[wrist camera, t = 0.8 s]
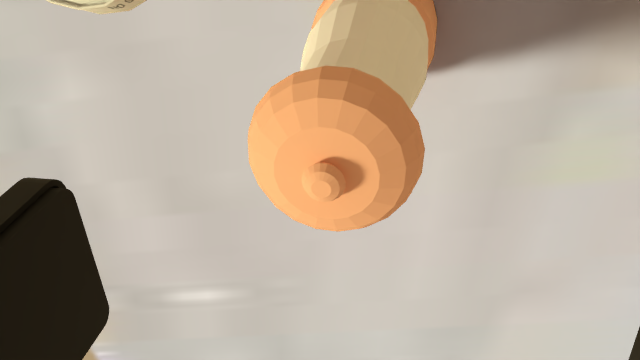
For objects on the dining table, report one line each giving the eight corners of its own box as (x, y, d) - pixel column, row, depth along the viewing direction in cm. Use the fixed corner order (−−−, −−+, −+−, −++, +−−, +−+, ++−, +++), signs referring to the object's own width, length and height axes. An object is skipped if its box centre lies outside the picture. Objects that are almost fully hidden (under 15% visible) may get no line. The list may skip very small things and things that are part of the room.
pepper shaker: (356, -60, 35) (274, 54, 19) (461, 4, 35) (467, 166, 19) (301, 42, 39) (195, 209, 23) (396, 98, 39) (358, 296, 23)
